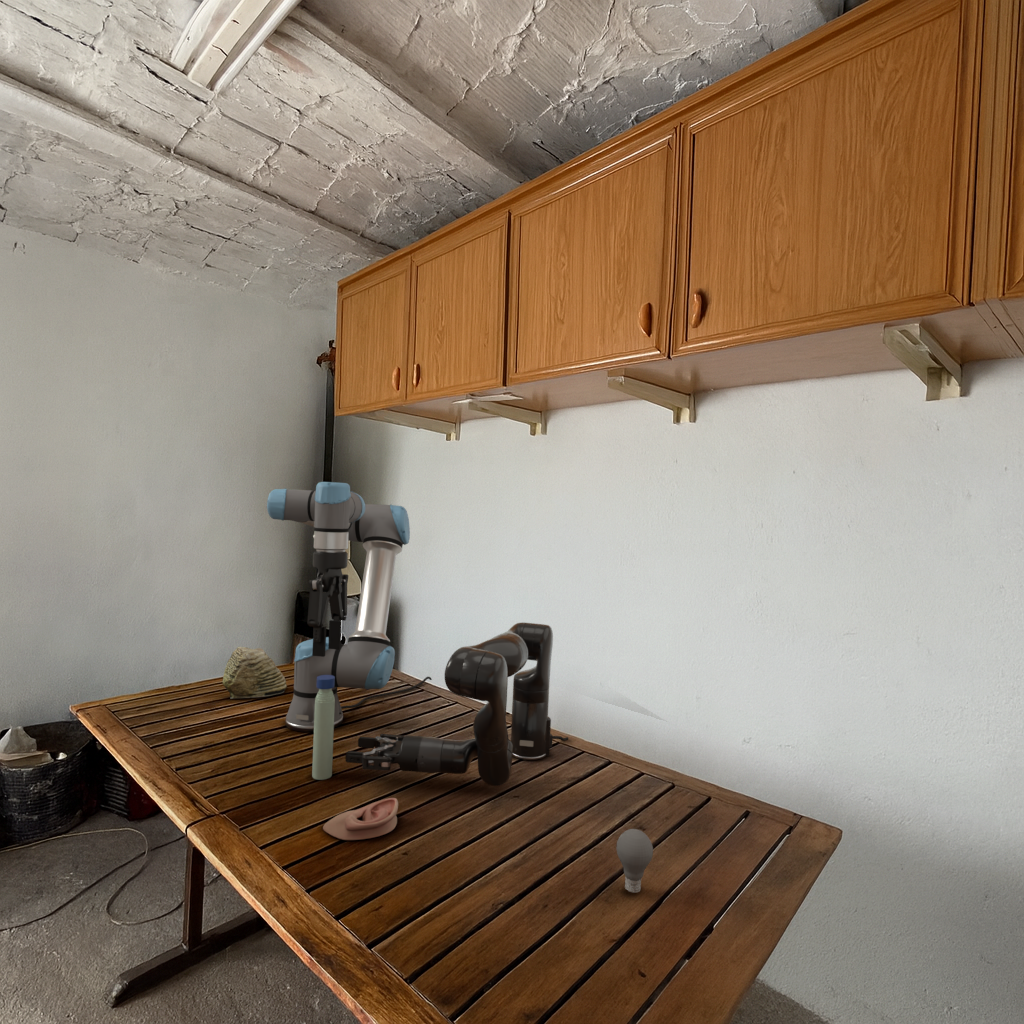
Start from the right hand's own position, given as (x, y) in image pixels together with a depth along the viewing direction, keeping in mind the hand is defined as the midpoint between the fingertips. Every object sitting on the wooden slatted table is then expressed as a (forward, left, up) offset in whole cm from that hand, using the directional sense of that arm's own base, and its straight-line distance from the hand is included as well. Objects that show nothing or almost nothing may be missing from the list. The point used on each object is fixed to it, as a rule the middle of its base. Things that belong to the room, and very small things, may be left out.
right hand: (352, 749), depth 143 cm
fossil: (+22, -67, -7) cm, 71 cm away
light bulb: (-40, +55, -7) cm, 68 cm away
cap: (+6, -3, +15) cm, 17 cm away
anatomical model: (+1, +22, -7) cm, 23 cm away
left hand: (+6, -3, +21) cm, 23 cm away
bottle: (+6, -3, -7) cm, 10 cm away
